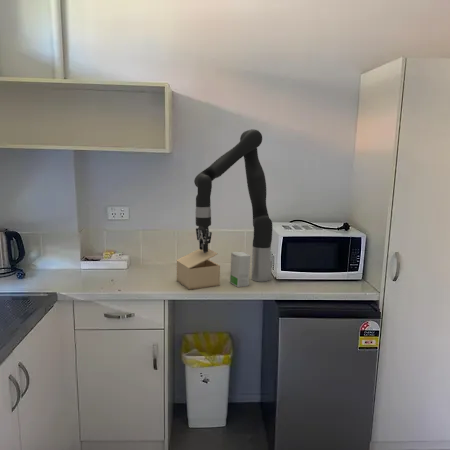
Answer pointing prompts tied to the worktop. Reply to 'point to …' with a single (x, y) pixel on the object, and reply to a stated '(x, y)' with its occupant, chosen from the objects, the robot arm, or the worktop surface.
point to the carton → (199, 275)
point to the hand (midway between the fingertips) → (203, 250)
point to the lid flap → (196, 257)
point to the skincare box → (240, 269)
